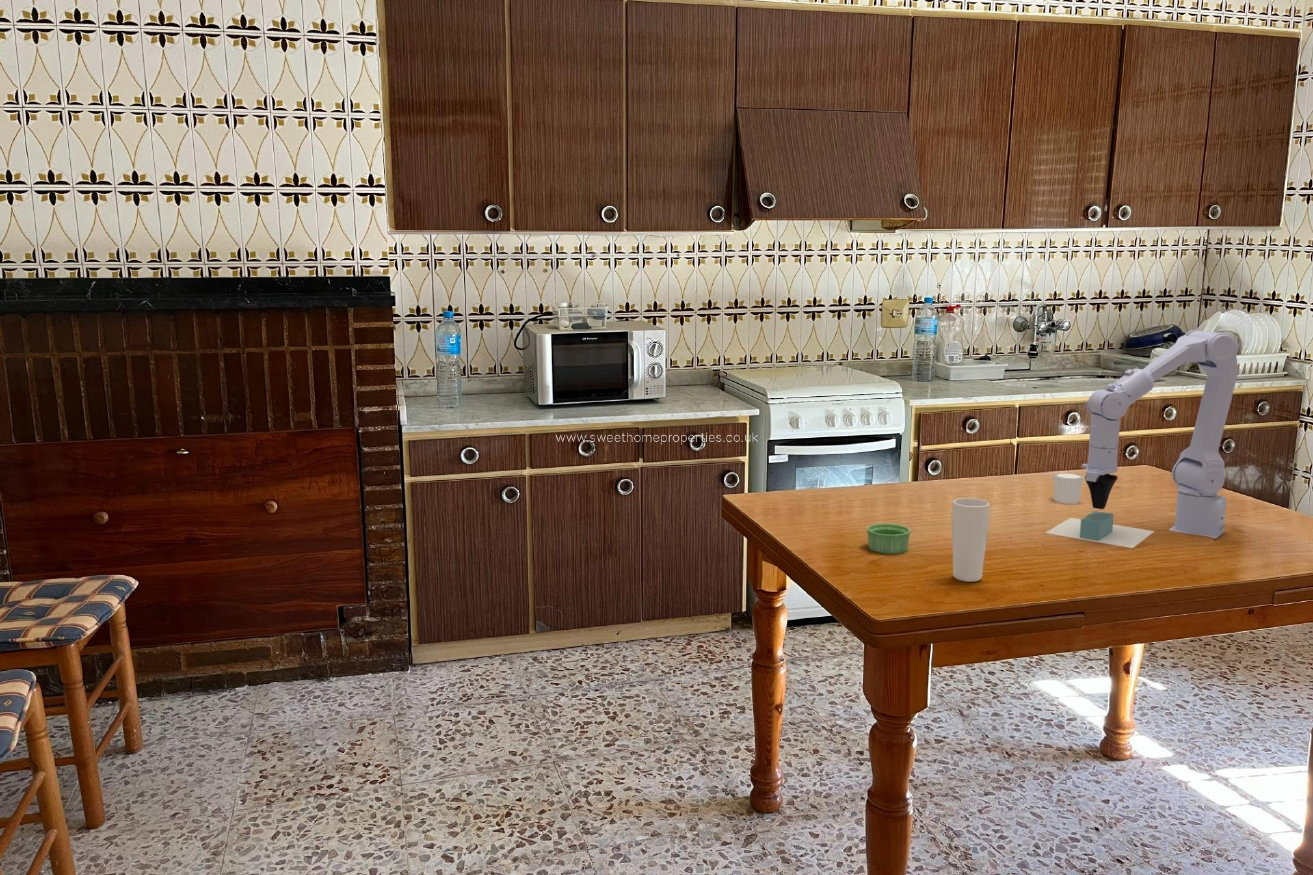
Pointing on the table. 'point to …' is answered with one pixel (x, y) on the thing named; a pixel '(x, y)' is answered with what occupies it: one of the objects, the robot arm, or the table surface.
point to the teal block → (1096, 525)
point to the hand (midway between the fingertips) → (1098, 508)
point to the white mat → (1116, 537)
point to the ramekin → (888, 538)
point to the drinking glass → (969, 537)
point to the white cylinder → (1067, 488)
